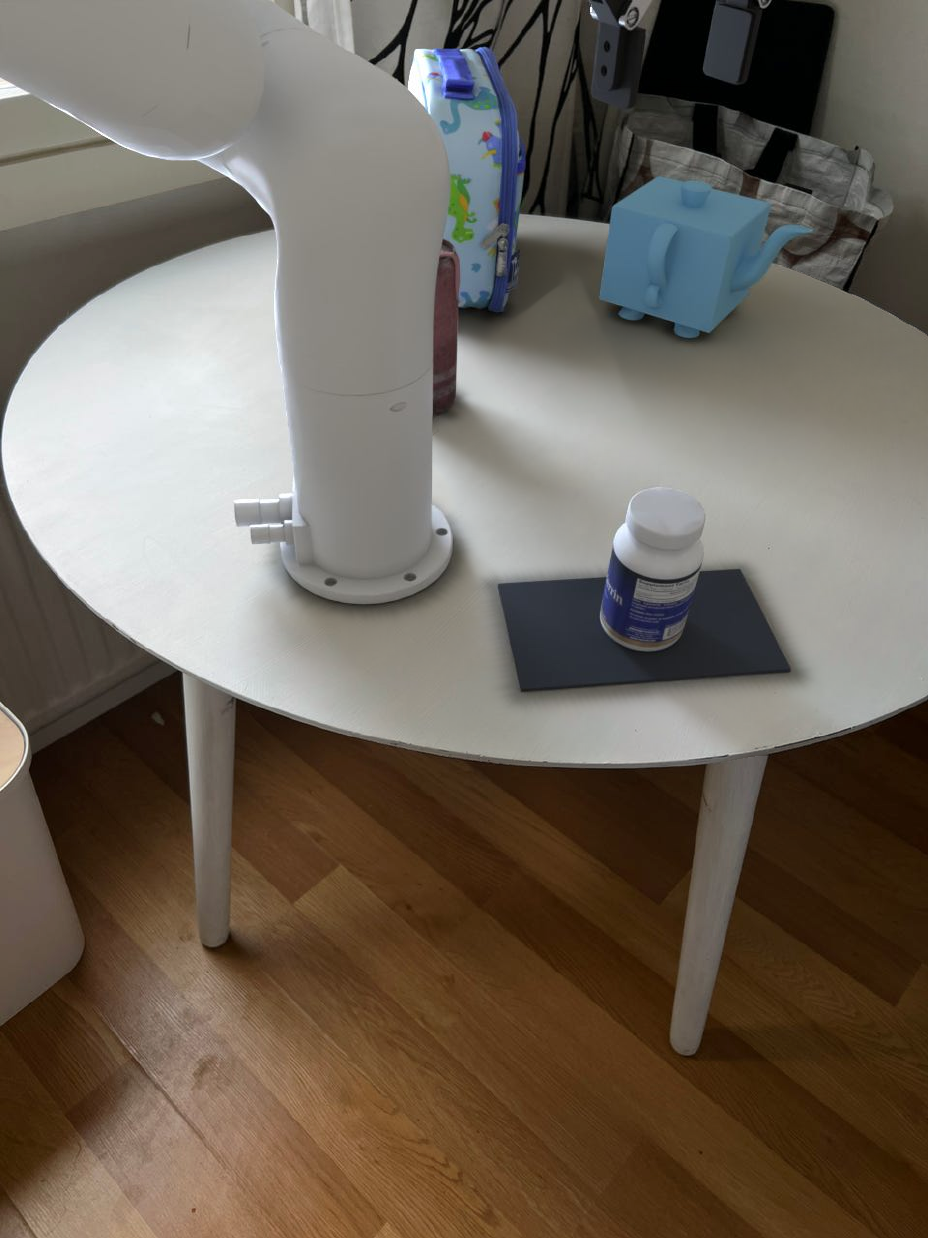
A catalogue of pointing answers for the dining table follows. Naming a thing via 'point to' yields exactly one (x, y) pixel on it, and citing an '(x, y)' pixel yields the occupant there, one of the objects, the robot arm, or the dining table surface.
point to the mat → (587, 656)
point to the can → (445, 329)
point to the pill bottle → (653, 569)
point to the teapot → (687, 253)
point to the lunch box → (476, 167)
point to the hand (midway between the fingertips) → (670, 90)
